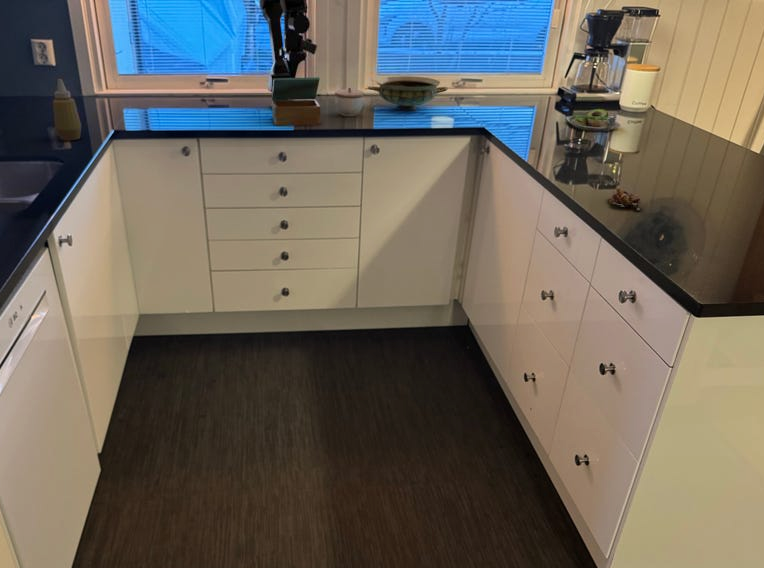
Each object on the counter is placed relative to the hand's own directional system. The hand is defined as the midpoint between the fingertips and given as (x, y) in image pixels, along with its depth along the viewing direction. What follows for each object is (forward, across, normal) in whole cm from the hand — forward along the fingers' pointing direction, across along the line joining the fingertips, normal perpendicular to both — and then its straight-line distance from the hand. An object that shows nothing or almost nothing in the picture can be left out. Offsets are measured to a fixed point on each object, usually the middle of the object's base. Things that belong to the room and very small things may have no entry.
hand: (293, 80), depth 244 cm
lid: (+2, -6, 0) cm, 6 cm away
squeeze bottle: (+14, -17, +76) cm, 79 cm away
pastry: (+16, -109, -62) cm, 127 cm away
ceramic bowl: (+12, +7, -46) cm, 48 cm away
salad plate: (+13, -33, -101) cm, 107 cm away
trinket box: (+13, +1, -21) cm, 25 cm away
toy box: (+13, -6, 0) cm, 14 cm away
